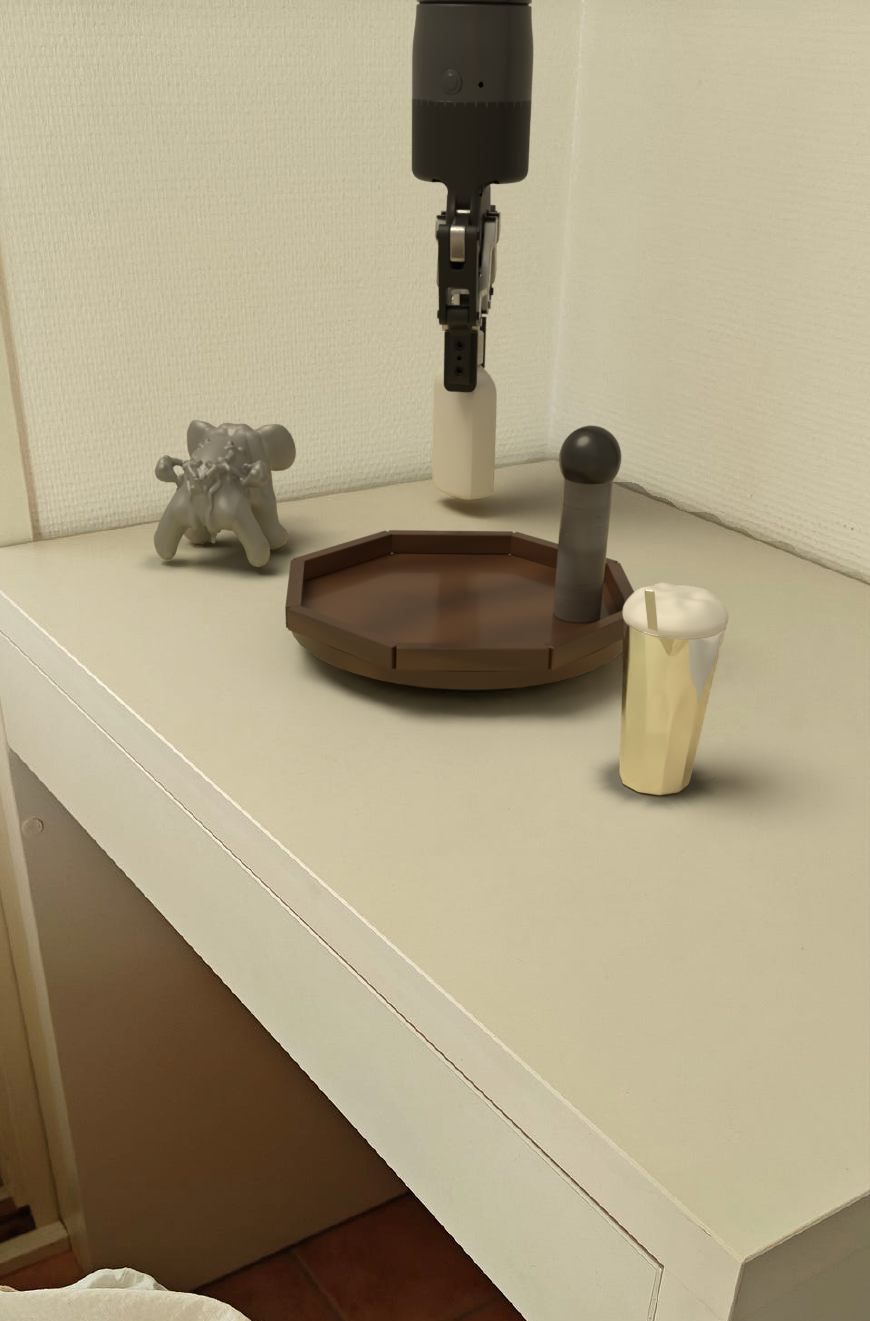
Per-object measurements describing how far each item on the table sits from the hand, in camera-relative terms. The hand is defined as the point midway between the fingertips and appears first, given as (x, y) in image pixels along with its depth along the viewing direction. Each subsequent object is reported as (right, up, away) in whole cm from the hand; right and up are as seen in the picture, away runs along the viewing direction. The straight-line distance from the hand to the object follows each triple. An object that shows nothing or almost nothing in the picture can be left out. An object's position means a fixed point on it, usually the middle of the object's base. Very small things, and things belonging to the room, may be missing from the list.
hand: (464, 380), depth 94 cm
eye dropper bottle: (0, -6, +4) cm, 8 cm away
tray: (-1, -21, -18) cm, 28 cm away
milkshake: (+8, -32, -31) cm, 45 cm away
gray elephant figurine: (-16, -13, -4) cm, 21 cm away
